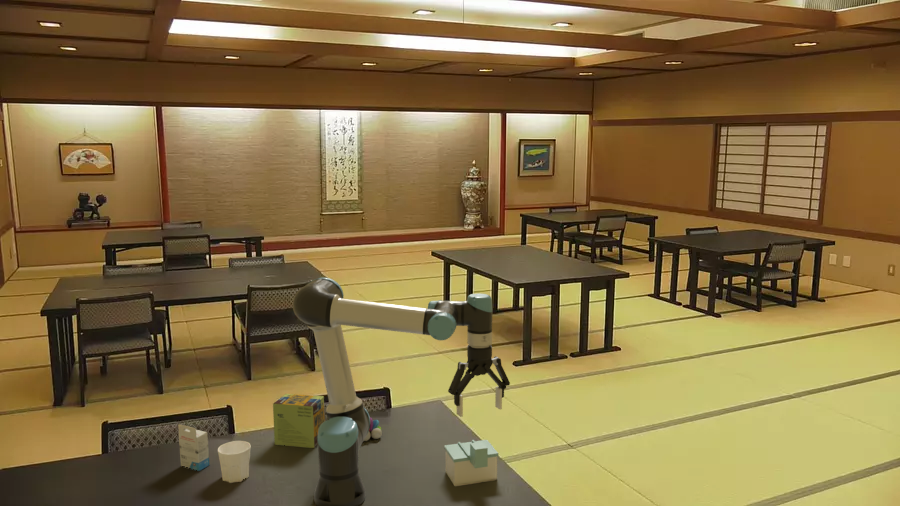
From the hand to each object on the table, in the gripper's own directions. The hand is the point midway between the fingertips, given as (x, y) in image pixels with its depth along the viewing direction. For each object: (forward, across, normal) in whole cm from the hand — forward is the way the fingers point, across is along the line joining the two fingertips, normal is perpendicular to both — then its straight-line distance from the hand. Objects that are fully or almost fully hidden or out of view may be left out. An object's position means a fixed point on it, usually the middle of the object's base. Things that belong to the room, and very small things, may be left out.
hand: (479, 411), depth 211 cm
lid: (+16, -1, +2) cm, 16 cm away
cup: (+24, -68, +38) cm, 81 cm away
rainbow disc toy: (+24, -20, +48) cm, 57 cm away
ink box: (+24, -79, +52) cm, 97 cm away
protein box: (+24, -43, +56) cm, 74 cm away
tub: (+23, 0, +5) cm, 24 cm away
